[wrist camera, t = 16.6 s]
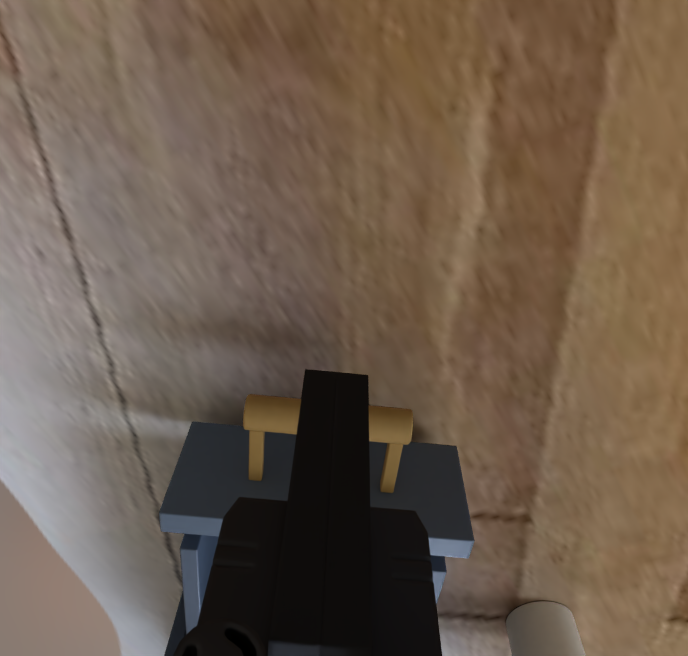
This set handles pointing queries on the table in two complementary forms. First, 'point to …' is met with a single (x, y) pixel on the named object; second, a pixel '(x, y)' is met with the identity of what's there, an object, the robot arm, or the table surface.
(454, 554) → the drawer
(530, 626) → the candle
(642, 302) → the table surface
